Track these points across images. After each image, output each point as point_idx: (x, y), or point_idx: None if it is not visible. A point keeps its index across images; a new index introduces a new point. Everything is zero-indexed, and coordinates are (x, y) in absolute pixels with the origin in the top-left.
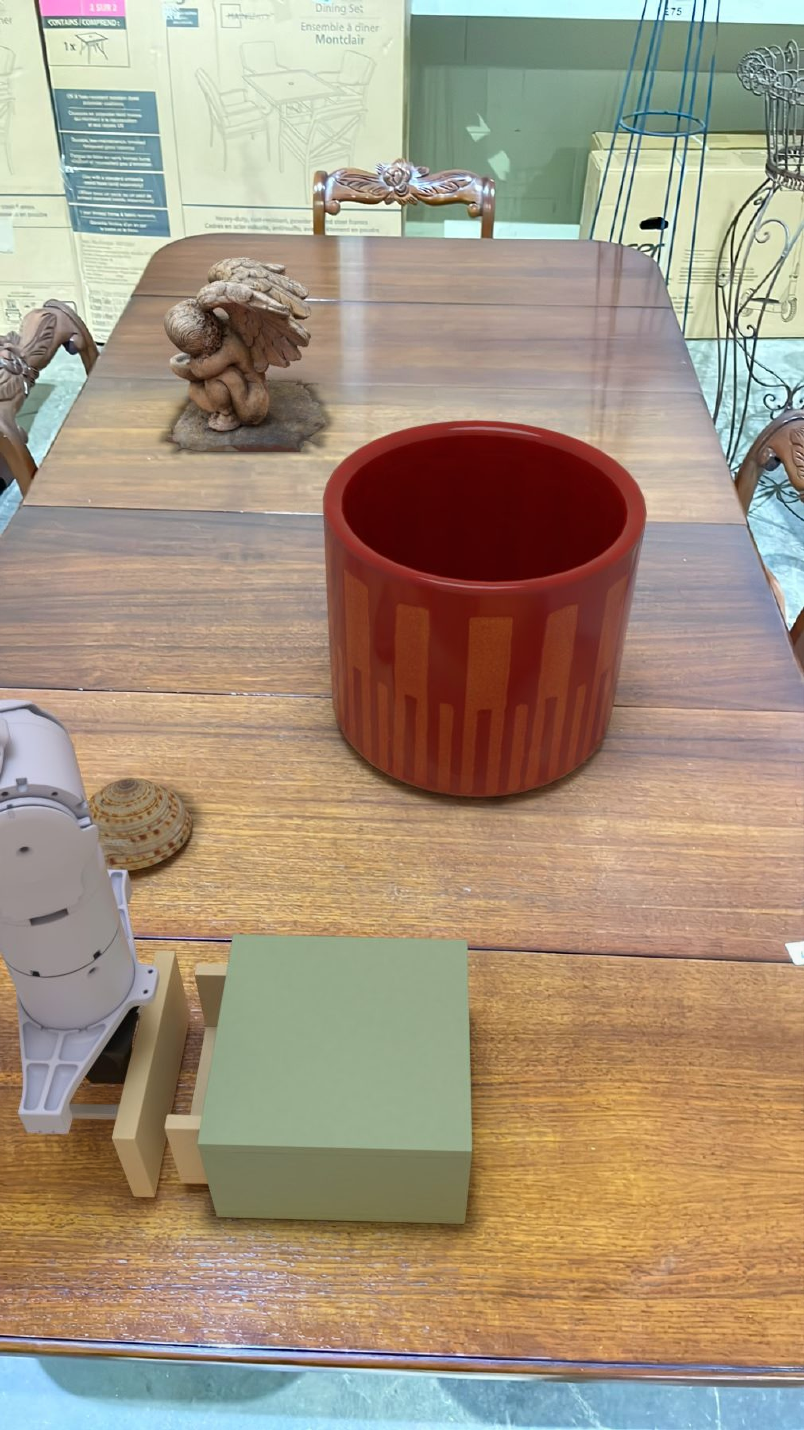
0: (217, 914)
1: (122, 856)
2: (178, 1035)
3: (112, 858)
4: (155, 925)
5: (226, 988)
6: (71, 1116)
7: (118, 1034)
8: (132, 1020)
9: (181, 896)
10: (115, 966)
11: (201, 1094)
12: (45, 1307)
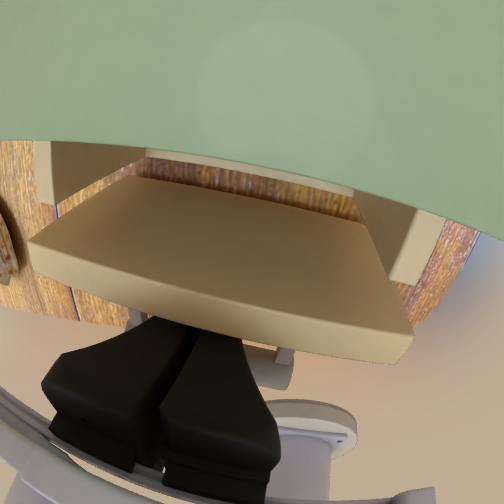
0: (31, 153)
1: (2, 250)
2: (159, 198)
3: (5, 258)
4: (46, 213)
5: (63, 133)
6: (414, 497)
7: (231, 452)
8: (189, 431)
9: (22, 190)
10: None
11: None
12: (416, 312)
